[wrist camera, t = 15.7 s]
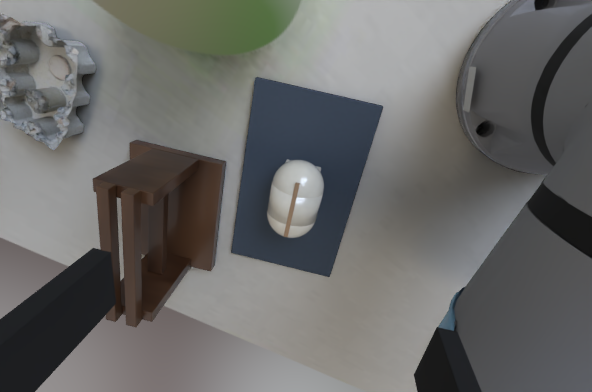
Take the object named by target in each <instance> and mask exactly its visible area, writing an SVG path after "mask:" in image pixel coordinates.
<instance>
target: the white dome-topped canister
mask: <svg viewBox="0 0 592 392" xmlns="http://www.w3.org/2000/svg"><path fill="white" fill-rule="evenodd" d="M323 192H324V180H323V176H322V174H321V167H317V166H315V165H313V164H312V163H310V162H308V161H305V160H288V159H287V160H286V162H285V163H284V164H283V165H282V166H280V167H279V169H278V170H277V171H276V173H275V174H274V177H273V180H272V185H271V191H270V196H269V201H268V207H267V218H268V222H269V224H270V226H271V227H272V229H273V230H274V231H275V232H276V233H278V234H279V235H281V236H283V237H287V238H297V237H301V236H303V235H305V234H306V233H308V232H309V231H310V230H311V229H312V227H313V226H314V224H315V221H316V218H317V215H318V211H319V207H320V203H321V200H322V196H323Z"/></svg>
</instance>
